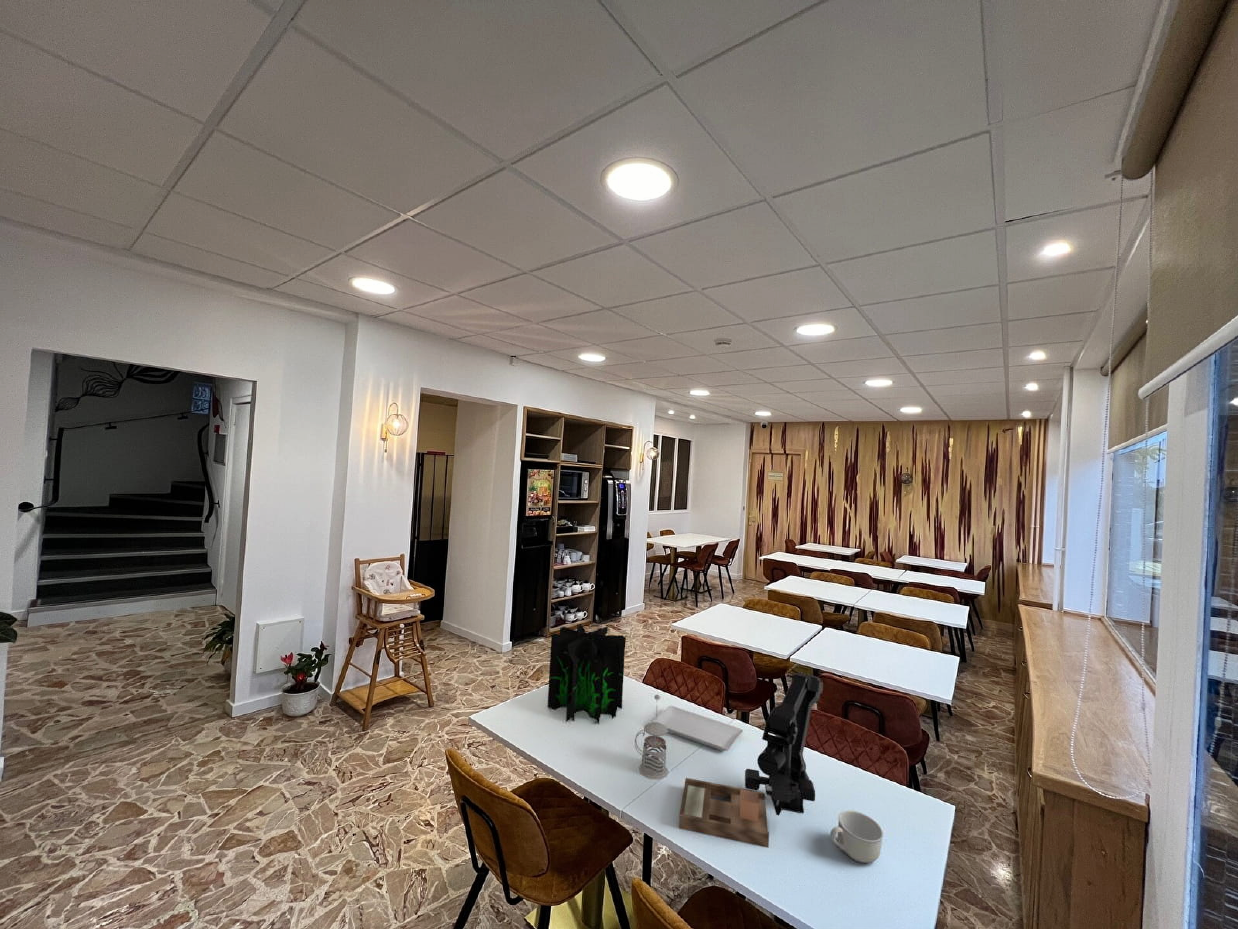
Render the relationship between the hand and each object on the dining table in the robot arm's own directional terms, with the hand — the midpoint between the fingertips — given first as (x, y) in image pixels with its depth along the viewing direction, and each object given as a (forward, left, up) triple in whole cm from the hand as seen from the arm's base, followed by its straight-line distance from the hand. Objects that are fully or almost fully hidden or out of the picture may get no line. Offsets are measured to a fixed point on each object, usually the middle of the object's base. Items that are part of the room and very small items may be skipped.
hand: (777, 814), depth 141 cm
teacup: (-19, +5, -4) cm, 20 cm away
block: (+8, 0, -2) cm, 8 cm away
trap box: (+15, 0, -4) cm, 15 cm away
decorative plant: (+73, -50, -4) cm, 89 cm away
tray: (+26, -44, -4) cm, 52 cm away
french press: (+39, -15, -4) cm, 42 cm away
